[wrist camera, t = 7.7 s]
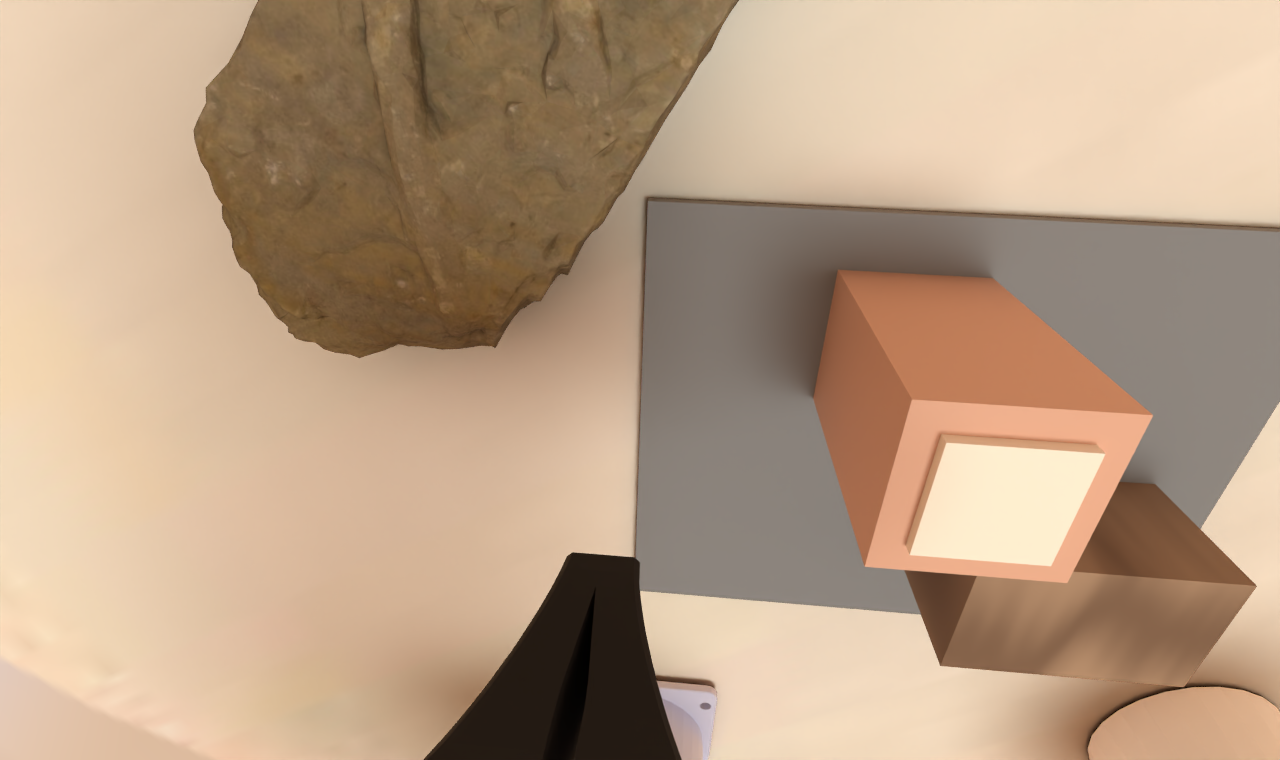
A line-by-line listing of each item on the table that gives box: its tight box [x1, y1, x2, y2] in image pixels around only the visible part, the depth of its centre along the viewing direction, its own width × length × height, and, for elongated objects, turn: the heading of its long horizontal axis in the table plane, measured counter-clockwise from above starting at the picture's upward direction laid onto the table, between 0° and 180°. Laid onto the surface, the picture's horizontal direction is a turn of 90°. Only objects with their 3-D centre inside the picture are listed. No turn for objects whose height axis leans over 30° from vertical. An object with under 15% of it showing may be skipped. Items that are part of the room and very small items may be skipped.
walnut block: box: [904, 482, 1257, 687], centre depth 21 cm, size 4×4×8 cm
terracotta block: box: [813, 270, 1153, 583], centre depth 16 cm, size 4×4×8 cm
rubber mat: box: [636, 198, 1280, 614], centre depth 22 cm, size 16×20×1 cm
